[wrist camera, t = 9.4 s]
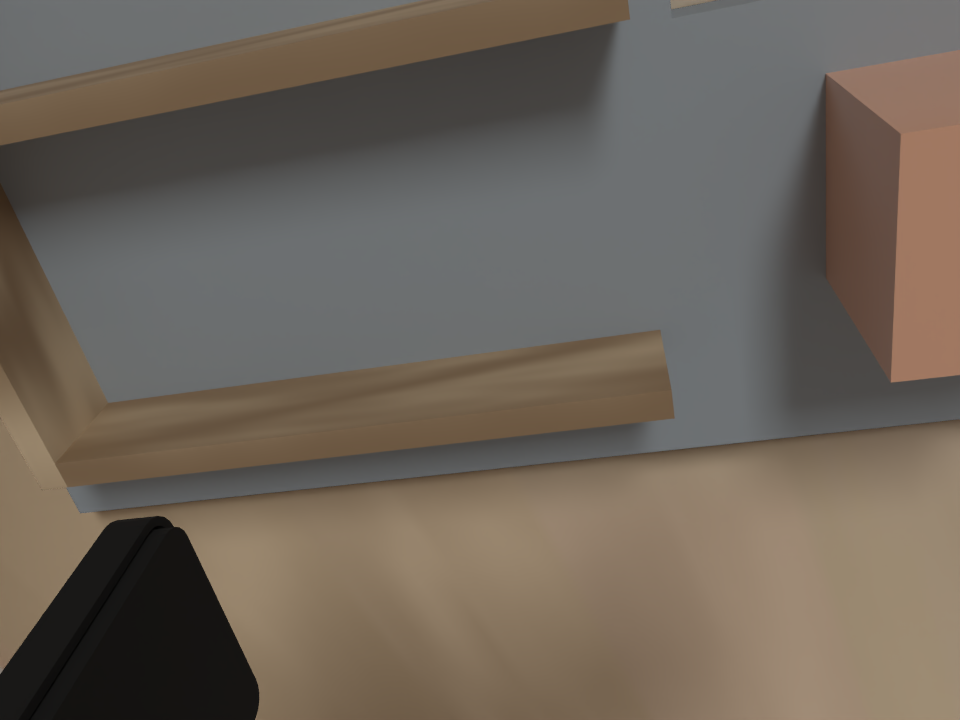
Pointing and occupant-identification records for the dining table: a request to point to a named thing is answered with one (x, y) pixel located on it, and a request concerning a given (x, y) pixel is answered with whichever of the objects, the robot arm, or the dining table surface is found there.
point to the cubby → (306, 400)
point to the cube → (897, 210)
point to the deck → (467, 220)
